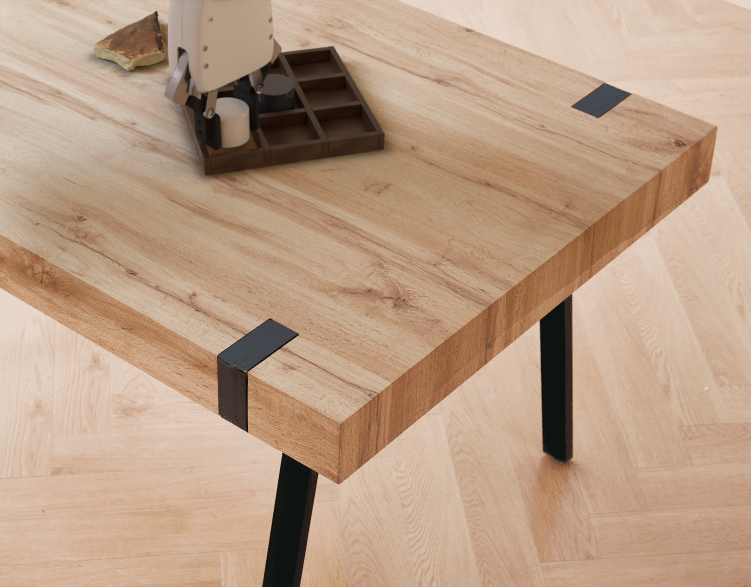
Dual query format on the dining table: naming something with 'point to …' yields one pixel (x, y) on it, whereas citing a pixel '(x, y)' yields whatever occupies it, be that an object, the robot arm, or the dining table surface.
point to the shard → (134, 44)
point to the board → (300, 118)
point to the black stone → (276, 94)
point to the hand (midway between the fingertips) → (228, 132)
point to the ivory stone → (233, 121)
